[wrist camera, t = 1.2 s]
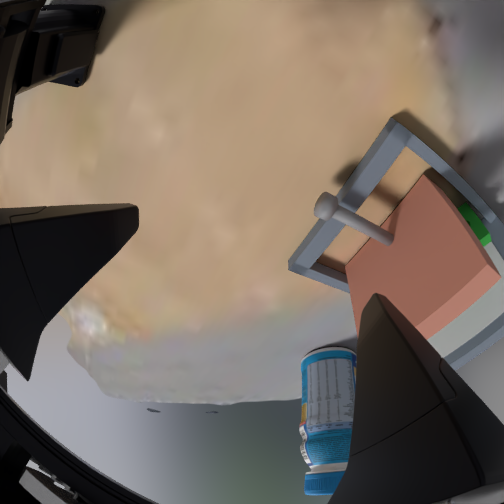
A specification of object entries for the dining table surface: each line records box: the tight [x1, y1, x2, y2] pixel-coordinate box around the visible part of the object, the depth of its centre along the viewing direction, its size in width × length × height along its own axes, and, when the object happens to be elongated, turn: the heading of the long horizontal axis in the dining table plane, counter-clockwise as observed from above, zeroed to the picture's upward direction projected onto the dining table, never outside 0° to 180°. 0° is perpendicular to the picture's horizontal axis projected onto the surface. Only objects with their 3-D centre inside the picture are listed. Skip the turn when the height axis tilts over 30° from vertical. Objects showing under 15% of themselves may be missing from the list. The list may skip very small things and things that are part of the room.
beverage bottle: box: [300, 347, 357, 495], centre depth 30 cm, size 8×8×20 cm
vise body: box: [288, 117, 504, 371], centre depth 19 cm, size 17×15×10 cm
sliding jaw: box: [314, 174, 502, 340], centre depth 17 cm, size 9×11×10 cm
